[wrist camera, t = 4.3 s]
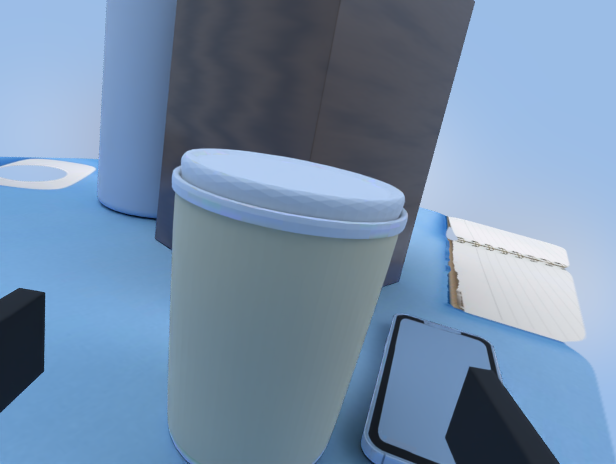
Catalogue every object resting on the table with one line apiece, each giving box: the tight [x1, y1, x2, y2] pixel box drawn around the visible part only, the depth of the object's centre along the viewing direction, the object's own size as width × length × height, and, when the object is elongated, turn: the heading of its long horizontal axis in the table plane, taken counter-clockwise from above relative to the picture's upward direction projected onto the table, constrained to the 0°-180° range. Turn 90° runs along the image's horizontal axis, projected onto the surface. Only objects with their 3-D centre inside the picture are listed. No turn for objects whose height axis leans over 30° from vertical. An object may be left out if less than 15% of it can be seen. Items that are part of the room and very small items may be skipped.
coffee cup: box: [167, 149, 408, 464], centre depth 18 cm, size 9×9×12 cm
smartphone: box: [361, 314, 503, 464], centre depth 24 cm, size 7×1×15 cm
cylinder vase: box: [97, 0, 177, 218], centre depth 47 cm, size 12×12×25 cm
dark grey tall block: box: [155, 0, 475, 287], centre depth 37 cm, size 18×17×26 cm
